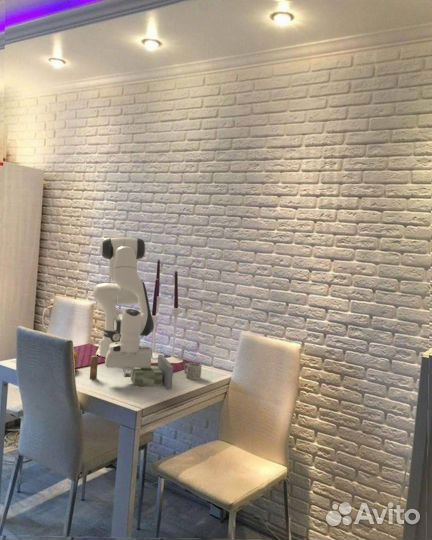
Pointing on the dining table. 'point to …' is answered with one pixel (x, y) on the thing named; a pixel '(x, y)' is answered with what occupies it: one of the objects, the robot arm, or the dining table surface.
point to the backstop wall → (166, 371)
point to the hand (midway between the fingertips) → (127, 376)
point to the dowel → (93, 367)
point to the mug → (193, 371)
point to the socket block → (146, 376)
